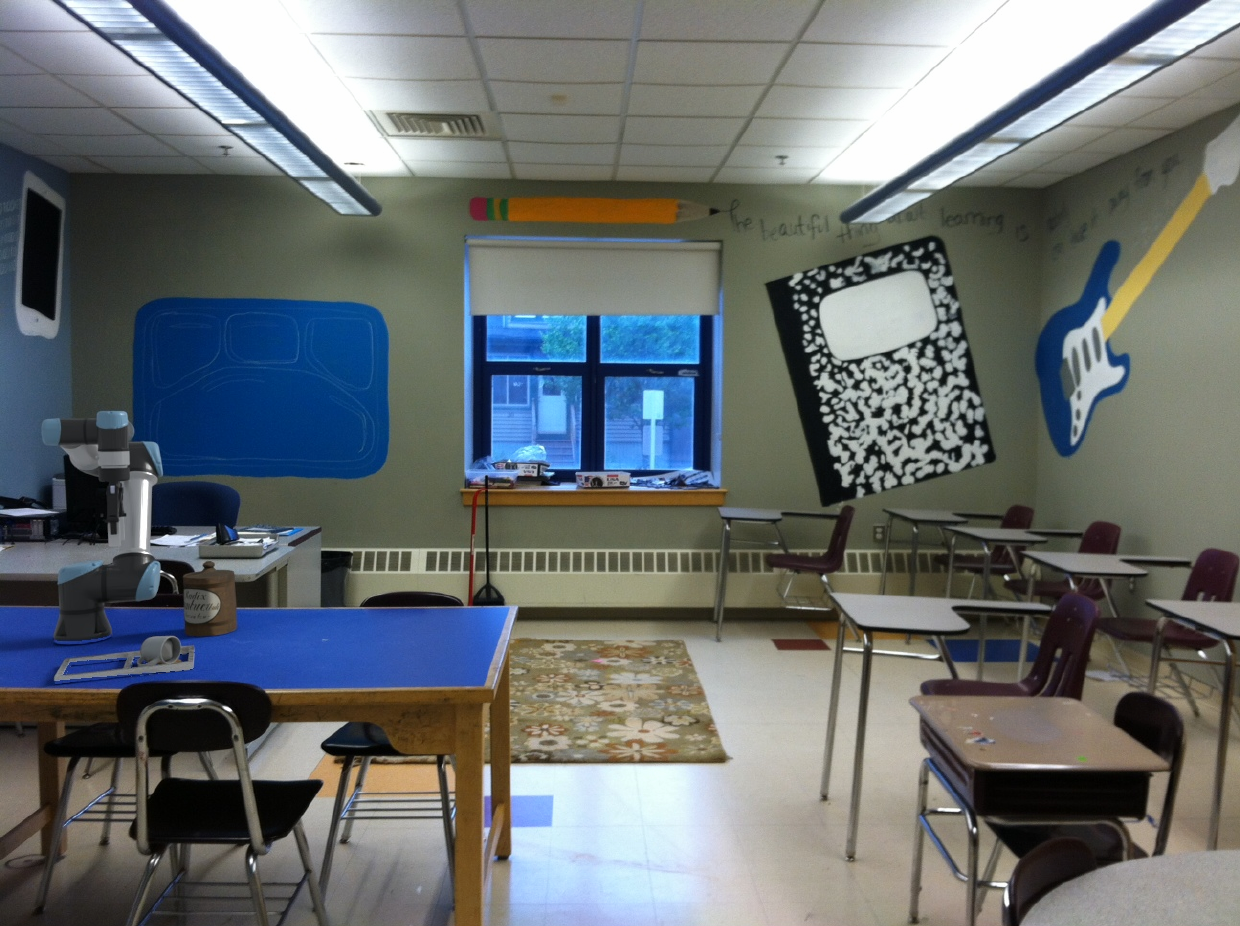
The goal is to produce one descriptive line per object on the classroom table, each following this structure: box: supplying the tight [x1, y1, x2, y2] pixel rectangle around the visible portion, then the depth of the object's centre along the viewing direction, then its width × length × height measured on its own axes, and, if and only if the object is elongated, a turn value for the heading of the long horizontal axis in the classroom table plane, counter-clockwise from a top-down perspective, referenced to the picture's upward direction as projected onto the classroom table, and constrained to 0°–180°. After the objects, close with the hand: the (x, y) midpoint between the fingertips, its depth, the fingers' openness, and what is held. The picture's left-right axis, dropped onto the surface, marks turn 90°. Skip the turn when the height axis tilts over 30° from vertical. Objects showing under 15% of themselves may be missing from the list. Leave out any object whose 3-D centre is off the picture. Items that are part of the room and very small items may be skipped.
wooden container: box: [182, 560, 238, 638], centre depth 275 cm, size 15×15×22 cm
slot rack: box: [53, 644, 196, 681], centre depth 236 cm, size 19×31×2 cm, turn 115°
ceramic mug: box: [136, 635, 182, 667], centre depth 238 cm, size 10×8×7 cm
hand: (116, 543), depth 246 cm, fingers open, 13 cm apart
